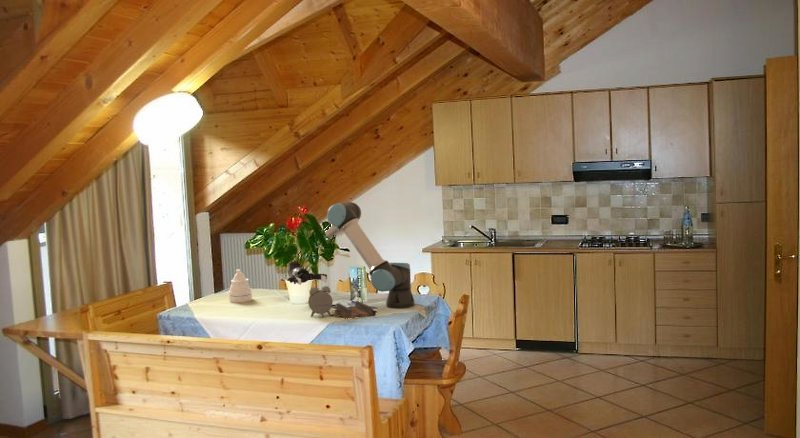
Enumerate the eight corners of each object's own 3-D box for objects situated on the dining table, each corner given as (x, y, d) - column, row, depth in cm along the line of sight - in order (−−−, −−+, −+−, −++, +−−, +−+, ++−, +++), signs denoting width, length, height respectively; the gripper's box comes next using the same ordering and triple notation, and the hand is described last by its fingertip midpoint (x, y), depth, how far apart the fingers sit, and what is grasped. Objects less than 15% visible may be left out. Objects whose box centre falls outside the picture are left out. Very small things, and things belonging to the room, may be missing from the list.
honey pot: (249, 302, 392) (247, 270, 390) (226, 302, 392) (224, 271, 391) (254, 297, 405) (252, 267, 403) (232, 298, 405) (230, 268, 403)
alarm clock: (331, 314, 352) (330, 285, 351) (334, 316, 345) (332, 287, 344) (308, 316, 348) (307, 287, 347) (311, 319, 342) (309, 289, 341)
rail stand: (360, 309, 361) (359, 300, 361) (373, 315, 345) (373, 306, 344) (334, 312, 355) (334, 303, 355) (347, 319, 339) (346, 310, 338)
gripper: (323, 279, 379) (336, 285, 360) (278, 283, 369) (289, 290, 350) (322, 266, 379) (335, 271, 359) (278, 270, 368) (289, 275, 349)
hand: (313, 280), depth 354 cm, fingers open, 13 cm apart
